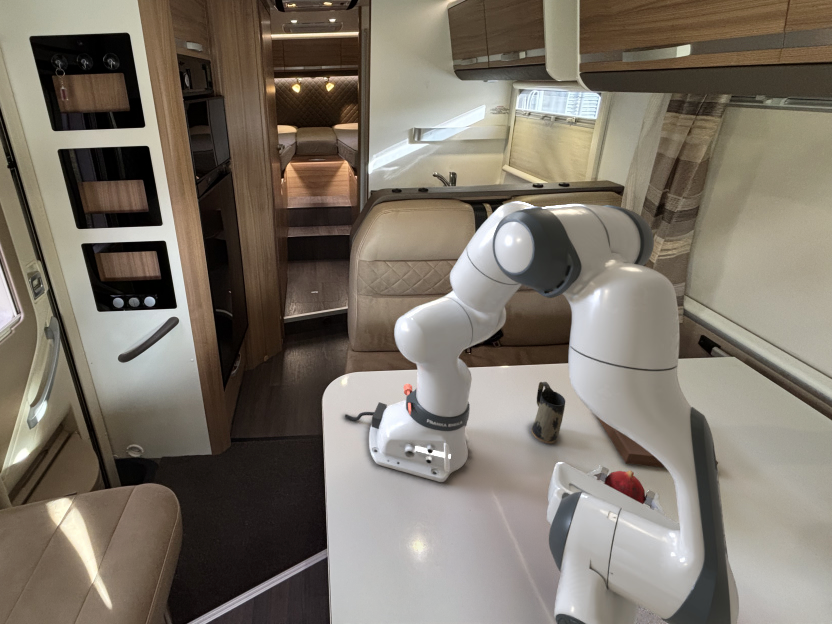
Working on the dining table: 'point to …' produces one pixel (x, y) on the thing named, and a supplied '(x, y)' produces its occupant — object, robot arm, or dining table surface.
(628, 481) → the onion
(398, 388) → the dining table surface
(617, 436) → the tray
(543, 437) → the mug
